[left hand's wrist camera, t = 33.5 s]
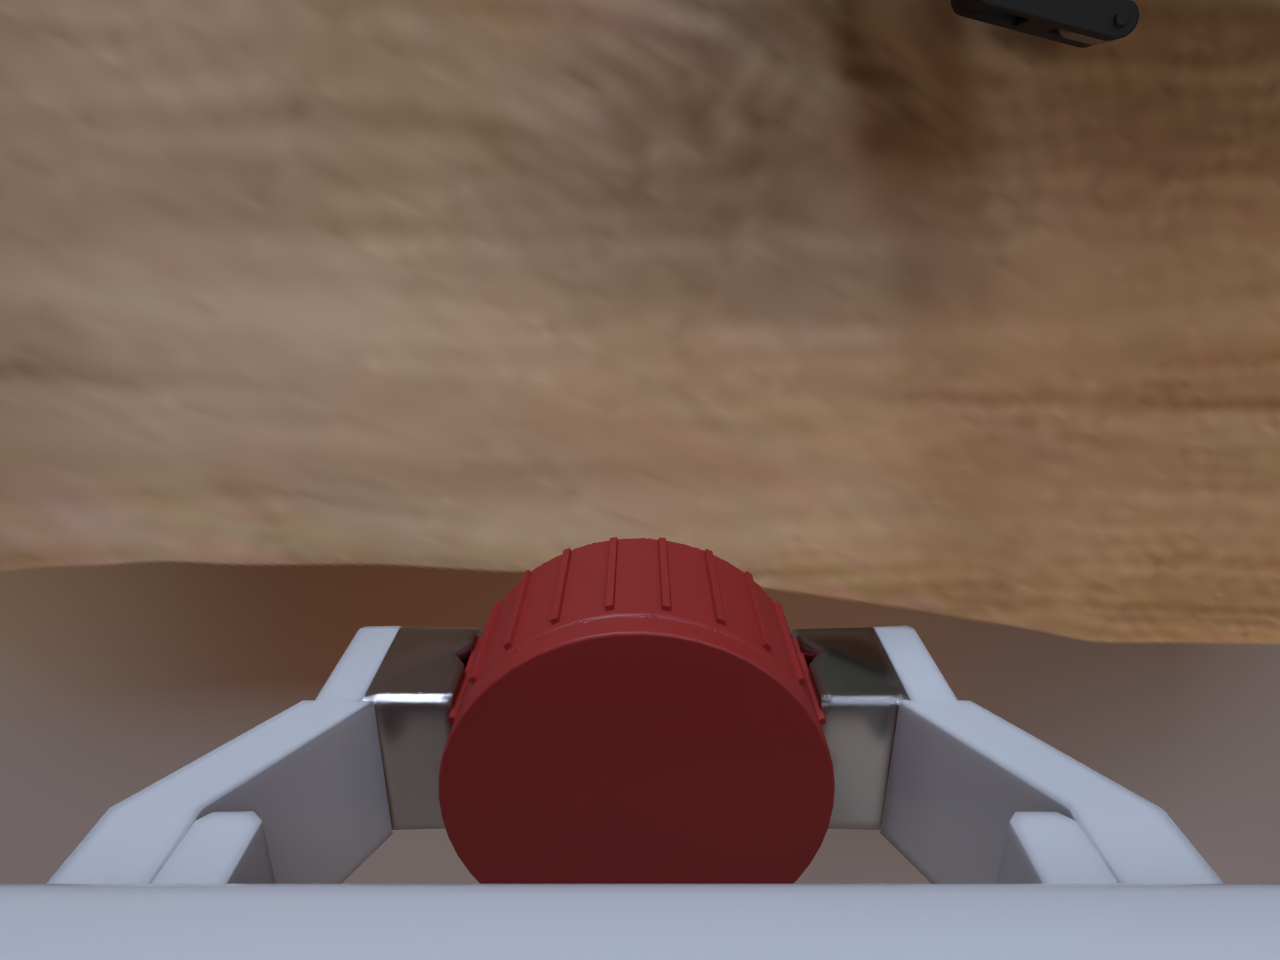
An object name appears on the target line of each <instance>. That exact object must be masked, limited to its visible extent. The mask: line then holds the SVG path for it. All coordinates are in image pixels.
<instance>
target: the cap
mask: <svg viewBox="0 0 1280 960" xmlns="http://www.w3.org/2000/svg"><path fill="white" fill-rule="evenodd" d="M808 671H809V669H808V666H807V663H806V660H805V657H804V654H803V653H801V652H800V649H799V646H798V643H797V640H796V638H794V639H793V637H792V634H791V632H790V630H789V627H788V624H787V621H786V618H785V615H784V612H783V609H782V606H781V604H780V603H779V602H776V603H774V602H773V601H772V599H771V598H770V597H769V596H768V595H767V594H766V593H765V591H764V590H763V589H762V588H761V587H760V586H759V585H758V584H757V583H755V582H754V580H753V577H752V574H750V573H749V572H748V571H746V572H745V573H744V572H742V571H740V570H739V569H737V568H736V567H734V566H733V565H731V564H730V563H728V562H727V561H724V560H722V559H720V558H718V557H716V556H714V555H713V552H712V551H710V550H708V549H706V550H705V551H704V550H700V549H698V548H694V547H691V546H688V545H684V544H679V543H674V542H669V541H666V538H659V540H655V539H650V538H649V539H645V538H640V539H618V540H617V537H615V538H610V541H605V542H598V543H593V544H591V545H590V544H589V545H586V546H584V547H580V548H577V549H574V550H572V551H571V550H570V548H569V549H566V550H564V551H563V554H562V555H560V556H557V557H555V558H553V559H551V560H550V561H548V562H546V563H544V564H542V565H541V566H539V567H538V568H536V569H535V570H533V571H532V572H530V571H529V570H527V571H526V572H525V573H524V574H523V577H522V580H520V581H519V582H518V583H517V584H516V585H515V586H514V587H513V588H512V589H511V590H510V591H509V592H508V593H507V594H506V596H505V597H504V598H503V600H502V601H501V602H499V601H498V600H497V601H496V602H495V603H494V604H493V607H492V610H491V613H490V616H489V619H488V622H487V625H486V627H485V630H484V633H483V636H482V637H479V636H478V637H477V639H476V642H475V645H474V648H473V651H471V654H470V657H469V660H468V663H467V666H466V669H465V674H464V677H463V680H462V683H461V685H460V688H459V691H458V694H457V696H456V699H455V702H454V705H453V707H452V709H451V712H450V715H449V718H448V721H447V722H449V723H453V725H452V728H451V731H450V734H449V737H448V740H447V743H446V746H445V749H444V752H443V754H442V760H441V765H440V771H439V802H440V808H441V814H442V819H443V822H444V825H445V828H446V831H447V834H448V837H449V839H450V841H451V843H452V845H453V847H454V849H455V851H456V853H457V855H458V856H459V858H460V859H461V861H462V862H463V863H464V865H465V866H466V868H467V869H468V870H469V872H470V873H471V874H472V875H473V876H474V877H475V878H476V880H477V881H478V882H479V883H480V884H793V883H794V882H795V881H796V880H797V879H798V878H799V877H800V875H801V874H802V873H803V872H804V870H805V869H806V868H807V867H808V865H809V864H810V863H811V861H812V860H813V858H814V856H815V854H816V853H817V851H818V849H819V848H820V846H821V844H822V841H823V839H824V836H825V834H826V832H827V829H828V827H829V822H830V818H831V814H832V810H833V805H834V791H835V781H834V771H833V763H832V759H831V756H830V752H829V748H828V745H827V741H826V738H825V735H824V732H823V729H822V727H821V725H823V724H826V720H825V717H824V714H823V711H820V708H819V705H818V702H817V700H816V697H815V694H814V691H813V688H812V685H811V682H810V679H809V676H808Z"/></svg>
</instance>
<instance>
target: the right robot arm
mask: <svg viewBox="0 0 1280 960" xmlns="http://www.w3.org/2000/svg"><path fill="white" fill-rule="evenodd" d="M951 6H952V8H953V10H954V12H955V13H956V14H958V15H960V16H963V17H967V18H971V19H974V20H978V21H982V22H986V23H989V24H993V25H997V26H1001V27H1004V28H1008V29H1012V30H1016V31H1019V32H1023V33H1027V34H1031V35H1035V36H1038V37H1042V38H1046V39H1050V40H1053V41H1057V42H1061V43H1065V44H1068V45H1072V46H1076V47H1080V48H1085V47H1089V46H1092V45H1098V44H1102V43H1105V42H1109V41H1112V40H1115V39H1119V38H1122V37H1125V36H1127V35H1128V34H1130V33H1131V32H1132V31H1133V29H1134V28H1135V26H1136V24H1137V22H1138V18H1139V11H1138V8H1137V6H1136V4H1135V3H1134V2H1133V1H1132V0H951Z"/></svg>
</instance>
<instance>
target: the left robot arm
mask: <svg viewBox="0 0 1280 960" xmlns="http://www.w3.org/2000/svg"><path fill="white" fill-rule="evenodd" d="M478 636H479V637H482V636H483V634H482V632H481V629H480V628H449V627H401V626H373V627H364V628H361V629H359V630H358V631H357V633H356V635H355V636H354V638H353V639H352V641H351V643H350V644H349V646H348V648H347V649H346V651H345V652H344V654H343V656H342V657H341V659H340V660H339V662H338V664H337V665H336V667H335V669H334V670H333V672H332V673H331V675H330V677H329V678H328V680H327V682H326V683H325V685H324V686H323V688H322V690H321V691H320V693H319V694H318V696H317V698H316V699H315V701H301V702H300V703H298V704H296V705H294V706H292V707H290V708H289V709H287V710H285V711H283V712H281V713H280V714H278V715H276V716H274V717H272V718H271V719H269V720H267V721H265V722H264V723H262V724H260V725H258V726H256V727H254V728H253V729H251V730H249V731H247V732H246V733H244V734H242V735H240V736H238V737H236V738H235V739H233V740H231V741H229V742H228V743H226V744H224V745H222V746H220V747H219V748H217V749H215V750H213V751H211V752H209V753H208V754H206V755H204V756H202V757H201V758H199V759H197V760H195V761H193V762H192V763H190V764H188V765H186V766H184V767H183V768H181V769H179V770H177V771H175V772H174V773H172V774H170V775H168V776H166V777H165V778H163V779H161V780H159V781H157V782H156V783H154V784H152V785H150V786H148V787H147V788H145V789H143V790H141V791H139V792H138V793H136V794H134V795H132V796H130V797H129V798H127V799H125V800H123V801H121V802H120V803H118V804H116V805H114V806H112V807H111V808H109V809H108V810H107V811H106V813H105V814H104V815H103V816H102V817H101V819H100V820H99V821H98V822H97V823H96V825H95V826H94V827H93V828H92V830H91V831H90V832H89V833H88V834H87V835H86V837H85V838H84V839H83V840H82V841H81V843H80V844H79V845H78V846H77V847H76V849H75V850H74V851H73V852H72V853H71V855H70V856H69V857H68V858H67V859H66V860H65V862H64V863H63V864H62V865H61V867H60V868H59V869H58V870H57V871H56V872H55V874H54V875H53V876H52V877H51V878H50V880H49V881H48V882H47V883H46V884H0V960H1280V884H1224V883H1223V882H1222V881H1221V880H1220V878H1219V877H1218V876H1217V875H1216V873H1215V872H1214V871H1213V870H1212V868H1211V867H1210V866H1209V865H1208V864H1207V862H1206V861H1205V860H1204V859H1203V857H1202V856H1201V855H1200V854H1199V853H1198V851H1197V850H1196V849H1195V848H1194V846H1193V845H1192V844H1191V843H1190V842H1189V840H1188V839H1187V838H1186V837H1185V835H1184V834H1183V833H1182V832H1181V831H1180V829H1179V828H1178V827H1177V826H1176V824H1175V823H1174V822H1173V821H1172V819H1171V818H1170V817H1169V816H1168V815H1167V813H1166V812H1165V811H1164V810H1163V809H1162V808H1160V807H1158V806H1156V805H1154V804H1153V803H1151V802H1149V801H1147V800H1146V799H1144V798H1142V797H1140V796H1139V795H1137V794H1135V793H1133V792H1131V791H1130V790H1128V789H1126V788H1124V787H1122V786H1121V785H1119V784H1117V783H1115V782H1114V781H1112V780H1110V779H1108V778H1107V777H1105V776H1103V775H1101V774H1099V773H1098V772H1096V771H1094V770H1092V769H1090V768H1089V767H1087V766H1085V765H1083V764H1082V763H1080V762H1078V761H1076V760H1074V759H1073V758H1071V757H1069V756H1067V755H1066V754H1064V753H1062V752H1060V751H1058V750H1057V749H1055V748H1053V747H1051V746H1050V745H1048V744H1046V743H1044V742H1042V741H1041V740H1039V739H1037V738H1035V737H1034V736H1032V735H1030V734H1028V733H1027V732H1025V731H1023V730H1021V729H1019V728H1018V727H1016V726H1014V725H1012V724H1011V723H1009V722H1007V721H1005V720H1003V719H1002V718H1000V717H998V716H996V715H995V714H993V713H991V712H989V711H987V710H986V709H984V708H982V707H980V706H979V705H977V704H975V703H973V702H972V701H958V700H957V698H956V696H955V695H954V693H953V692H952V690H951V688H950V687H949V685H948V683H947V682H946V680H945V678H944V677H943V675H942V674H941V672H940V670H939V669H938V667H937V665H936V664H935V662H934V661H933V659H932V657H931V656H930V654H929V652H928V651H927V649H926V647H925V646H924V644H923V643H922V641H921V639H920V638H919V636H918V634H917V633H916V631H915V630H914V629H913V628H911V627H909V626H890V627H860V628H820V629H793V630H792V637H793V639H794V638H796V640H797V643H798V646H799V649H800V652H801V653H803V654H804V657H805V660H806V663H807V666H808V669H809V671H808V676H809V679H810V682H811V685H812V688H813V691H814V694H815V697H816V700H817V702H818V705H819V708H820V711H823V714H824V717H825V720H826V724H823V725H821V727H822V729H823V732H824V735H825V738H826V741H827V745H828V748H829V752H830V756H831V759H832V763H833V771H834V781H835V791H834V805H833V810H832V814H831V818H830V822H829V827H828V828H834V829H870V830H881V834H882V835H883V836H884V837H885V838H886V839H887V840H888V841H889V842H890V843H891V844H892V845H893V846H894V847H895V848H896V849H897V850H898V851H899V852H900V853H901V854H902V855H903V856H904V857H905V858H906V859H907V860H908V861H909V862H910V863H911V864H912V865H913V866H914V867H915V868H916V869H917V870H918V871H919V872H920V873H921V874H922V875H923V876H924V877H925V878H927V879H928V880H929V882H931V883H932V884H342V883H343V882H344V881H345V880H346V879H347V878H348V877H349V876H350V875H351V874H352V873H353V872H354V871H355V870H356V869H357V868H358V867H359V866H360V865H361V864H362V863H363V862H364V861H365V860H366V859H367V858H368V857H369V856H370V855H371V854H372V853H373V852H374V851H375V850H376V849H377V848H378V847H379V846H381V845H382V844H383V843H384V842H385V841H386V840H387V839H388V838H389V837H390V836H391V835H392V830H403V829H438V828H445V825H444V822H443V819H442V814H441V808H440V802H439V771H440V765H441V760H442V754H443V752H444V749H445V746H446V743H447V740H448V737H449V734H450V731H451V728H452V725H453V723H449V722H447V721H448V718H449V715H450V712H451V709H452V707H453V705H454V702H455V699H456V696H457V694H458V691H459V688H460V685H461V683H462V680H463V677H464V674H465V669H466V666H467V663H468V660H469V657H470V654H471V651H473V648H474V645H475V642H476V639H477V637H478Z"/></svg>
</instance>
